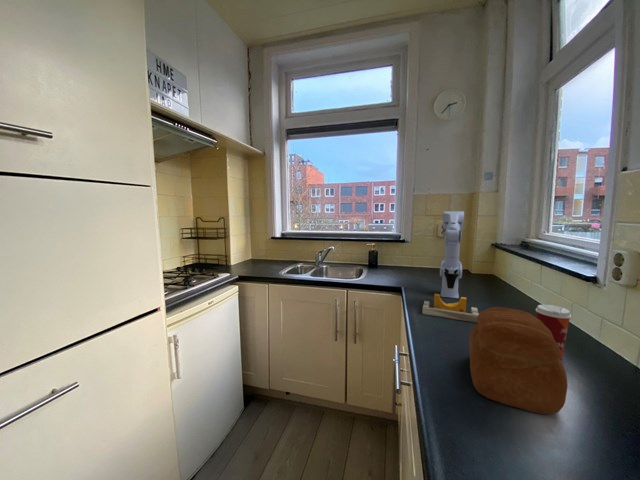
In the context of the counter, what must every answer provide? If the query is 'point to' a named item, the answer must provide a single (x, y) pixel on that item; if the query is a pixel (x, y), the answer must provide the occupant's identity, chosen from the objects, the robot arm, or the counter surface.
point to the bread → (517, 361)
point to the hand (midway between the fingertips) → (450, 286)
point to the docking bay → (451, 313)
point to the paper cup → (555, 323)
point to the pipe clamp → (450, 304)
